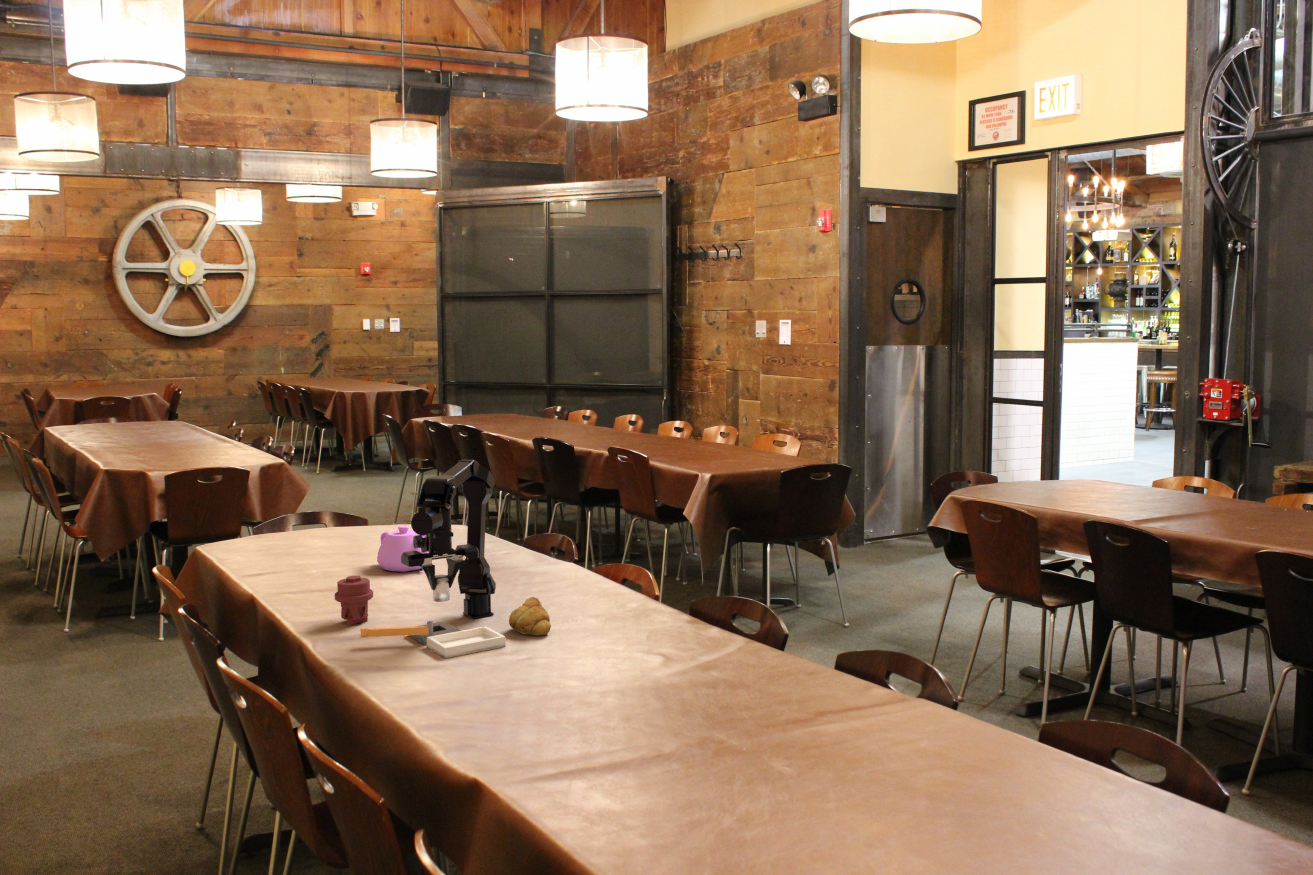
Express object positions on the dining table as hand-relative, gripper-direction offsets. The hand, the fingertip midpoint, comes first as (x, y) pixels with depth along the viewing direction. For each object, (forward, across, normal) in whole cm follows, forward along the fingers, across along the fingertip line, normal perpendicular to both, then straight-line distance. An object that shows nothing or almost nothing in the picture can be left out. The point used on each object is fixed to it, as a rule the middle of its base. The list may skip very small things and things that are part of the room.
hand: (441, 588), depth 271 cm
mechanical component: (+13, +13, -28) cm, 34 cm away
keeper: (+11, +11, -3) cm, 16 cm away
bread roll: (+13, -22, +6) cm, 26 cm away
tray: (+13, -3, +9) cm, 16 cm away
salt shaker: (+3, 0, 0) cm, 3 cm away
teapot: (+13, -23, -82) cm, 86 cm away
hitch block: (+13, +1, -4) cm, 14 cm away
